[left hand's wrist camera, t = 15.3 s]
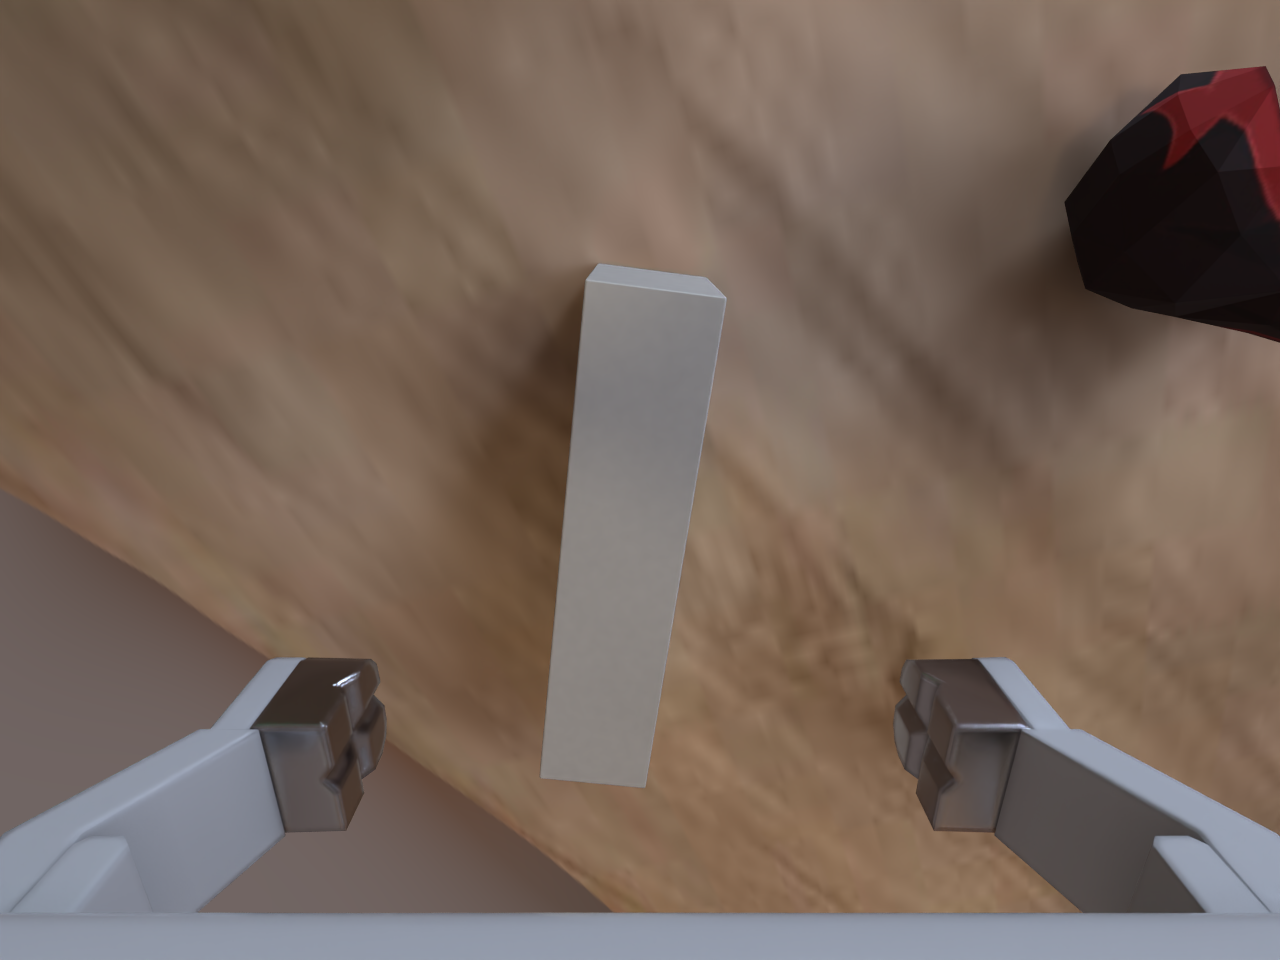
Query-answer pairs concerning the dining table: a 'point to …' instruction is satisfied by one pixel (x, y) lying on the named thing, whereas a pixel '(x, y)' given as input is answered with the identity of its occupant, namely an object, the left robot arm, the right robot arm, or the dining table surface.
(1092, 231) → the toy
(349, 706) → the left robot arm
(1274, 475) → the dining table surface
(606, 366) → the bar
